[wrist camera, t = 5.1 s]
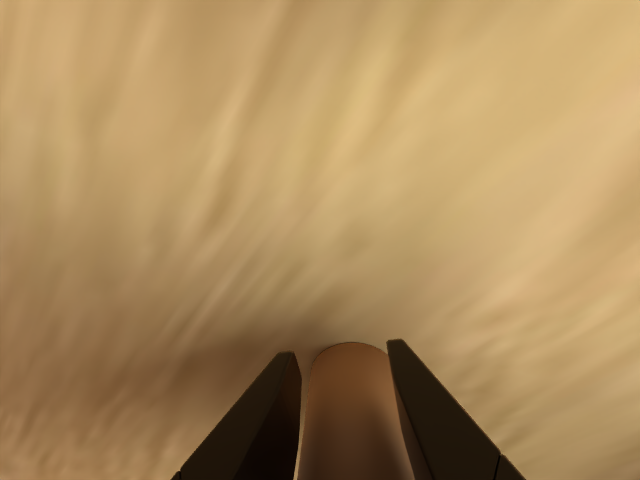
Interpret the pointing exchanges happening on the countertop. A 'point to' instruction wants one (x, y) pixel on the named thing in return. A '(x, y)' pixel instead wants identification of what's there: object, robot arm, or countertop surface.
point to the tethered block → (352, 418)
